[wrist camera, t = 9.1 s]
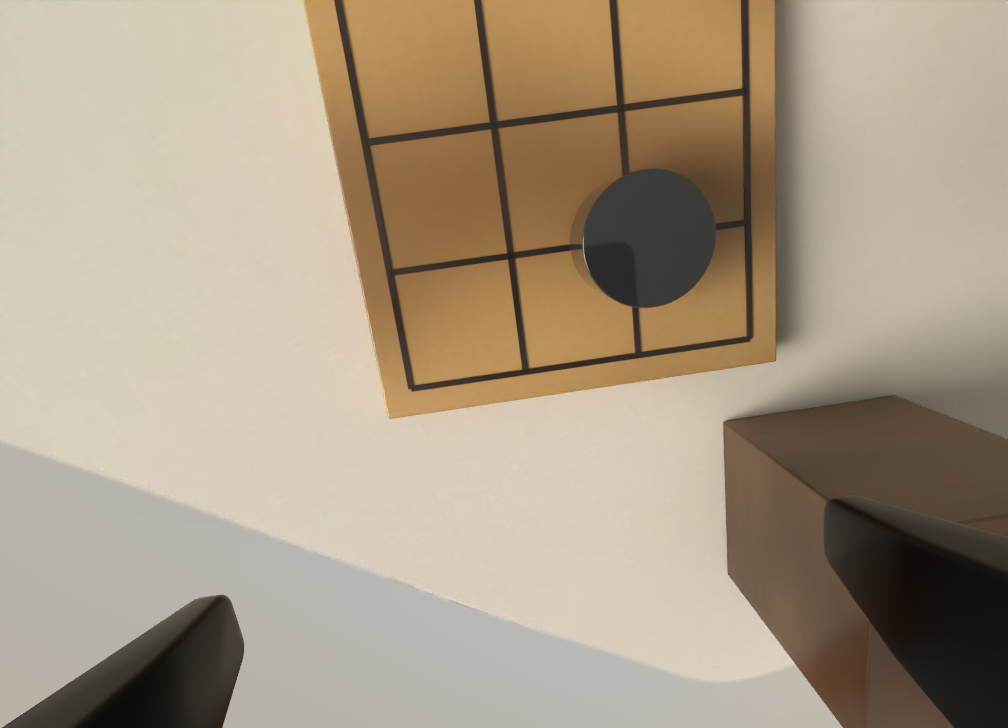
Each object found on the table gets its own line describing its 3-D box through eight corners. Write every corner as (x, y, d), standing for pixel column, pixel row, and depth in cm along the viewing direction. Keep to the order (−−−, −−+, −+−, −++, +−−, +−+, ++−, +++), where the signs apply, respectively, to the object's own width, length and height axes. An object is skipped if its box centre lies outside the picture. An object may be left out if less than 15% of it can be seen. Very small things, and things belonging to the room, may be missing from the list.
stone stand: (886, 548, 23) (1104, 715, 15) (727, 574, 22) (863, 756, 15) (895, 394, 21) (1148, 492, 13) (722, 421, 21) (875, 536, 13)
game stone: (691, 290, 18) (718, 298, 16) (576, 307, 18) (589, 317, 16) (686, 167, 17) (714, 159, 15) (563, 184, 17) (576, 178, 15)
